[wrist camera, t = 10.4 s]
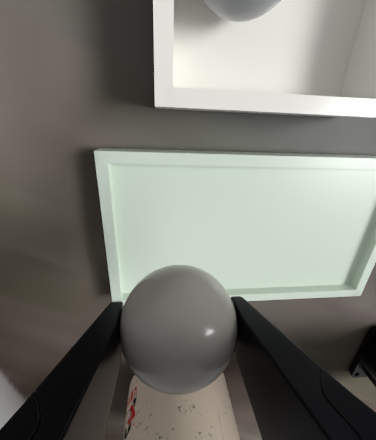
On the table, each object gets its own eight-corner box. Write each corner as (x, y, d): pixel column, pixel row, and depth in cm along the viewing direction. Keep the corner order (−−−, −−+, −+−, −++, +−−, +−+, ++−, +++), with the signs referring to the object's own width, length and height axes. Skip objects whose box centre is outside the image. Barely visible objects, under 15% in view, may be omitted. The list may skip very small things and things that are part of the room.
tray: (348, 285, 18) (360, 295, 17) (116, 294, 16) (112, 307, 15) (401, 156, 14) (421, 159, 13) (99, 147, 12) (93, 150, 11)
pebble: (216, 316, 11) (245, 417, 7) (130, 321, 10) (114, 431, 7) (226, 243, 9) (268, 325, 6) (124, 245, 9) (98, 336, 5)
